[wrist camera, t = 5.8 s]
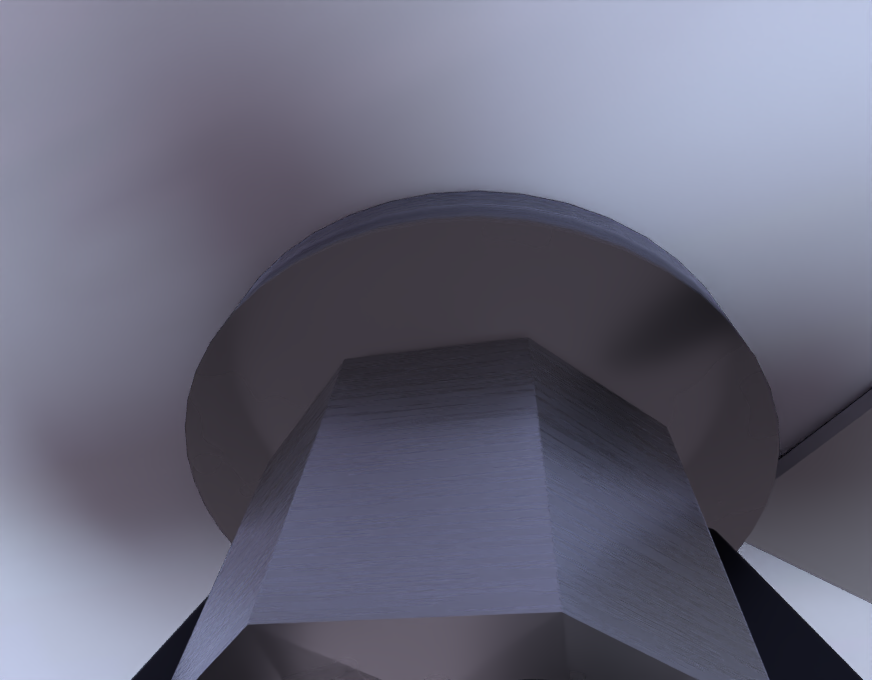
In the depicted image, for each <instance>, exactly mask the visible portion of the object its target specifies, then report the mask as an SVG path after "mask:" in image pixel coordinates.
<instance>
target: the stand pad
mask: <svg viewBox="0 0 872 680" xmlns="http://www.w3.org/2000/svg"><path fill="white" fill-rule="evenodd" d="M744 542H746V543H748V544H750V545H752V546H754V547H756V548H758V549H760V550H762V551H765V552H767V553H769V554H771V555H773V556H775V557H777V558H779V559H781V560H783V561H785V562H787V563H789V564H791V565H793V566H795V567H797V568H799V569H802V570H804V571H806V572H808V573H810V574H812V575H814V576H816V577H818V578H820V579H822V580H824V581H826V582H828V583H830V584H832V585H834V586H836V587H839V588H841V589H843V590H845V591H847V592H849V593H851V594H853V595H855V596H857V597H859V598H861V599H863V600H865V601H867V602H869V603H871V604H872V389H871V390H870V391H868V392H867V393H866V394H865V395H863V396H862V397H861V398H859V399H858V400H857V401H855V402H854V403H853V404H851V405H850V406H849V407H848V408H846V409H845V410H844V411H842V412H841V413H840V414H838V415H837V416H836V417H834V418H833V419H832V420H831V421H829V422H828V423H827V424H825V425H824V426H823V427H821V428H820V429H819V430H817V431H816V432H815V433H814V434H812V435H811V436H810V437H808V438H807V439H806V440H804V441H803V442H802V443H800V444H799V445H798V446H797V447H795V448H794V449H793V450H791V451H790V452H789V453H787V454H786V455H785V456H783V457H782V458H781V459H780V460H778V464H777V470H776V477H775V481H774V484H773V487H772V490H771V493H770V496H769V499H768V502H767V504H766V507H765V509H764V511H763V513H762V514H761V516H760V518H759V520H758V522H757V523H756V525H755V527H754V529H753V531H752V532H751V534H750V535H749V536H748V538H747V539H746V540H745V541H744Z"/></svg>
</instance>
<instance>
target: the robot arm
mask: <svg viewBox="0 0 872 680" xmlns="http://www.w3.org/2000/svg"><path fill="white" fill-rule="evenodd" d="M708 530H709V532H710V535H711V537H712V539H713V542H714V544H715V547H716V549H717V552H718V554H719V557H720V559H721V562H722V564H723V567H724V569H725V571H726V574H727V576H728V579H729V581H730V584H731V586H732V589H733V591H734V594H735V596H736V599H737V601H738V603H739V606H740V608H741V611H742V613H743V616H744V618H745V621H746V623H747V626H748V628H749V631H750V633H751V635H752V638H753V640H754V643H755V645H756V648H757V650H758V653H759V655H760V658H761V660H762V663H763V665H764V668H765V670H766V672H767V675H768V677H769V680H863V679H862V678H861V677H860V676H859V675H858V674H857V673H856V672H855V671H854V670H853V669H852V668H851V667H850V666H849V665H848V664H847V663H846V662H845V661H844V660H843V659H842V658H841V657H840V656H839V655H838V654H837V653H836V652H835V651H834V650H833V649H832V648H831V647H830V646H829V645H828V644H827V643H826V642H825V641H824V639H823V638H822V637H821V636H820V635H819V634H818V633H817V632H816V631H815V630H814V629H813V628H812V627H811V626H810V625H809V624H808V623H807V622H806V621H805V620H804V619H803V618H802V617H801V616H800V615H799V614H798V613H797V612H796V611H795V610H794V609H793V608H792V607H791V606H790V605H789V604H788V603H787V602H786V601H785V600H784V599H783V598H782V597H781V596H780V595H779V594H778V593H777V592H776V591H775V590H774V589H773V588H772V587H771V586H770V585H769V584H768V583H767V582H766V581H765V580H764V579H763V578H762V577H761V576H760V575H759V574H758V573H757V572H756V570H755V569H754V568H753V567H752V566H751V565H750V564H749V563H748V562H747V561H746V560H745V559H744V558H743V557H742V556H741V555H740V554H739V553H738V552H737V551H736V550H735V549H734V548H733V547H732V546H731V545H730V544H729V543H728V542H727V541H726V540H725V539H724V538H723V537H722V536H721V535H720V534H719V533H718V532H717V531H716V530H714V529H712V528H708ZM208 596H209V595H208ZM208 596H207V597H206V599H205V600H204V601H203V602H202V603H201V604H200V605H199V606H198V607H197V608H196V609H195V611H194V612H193V613H192V614H191V615H190V616H189V617H188V618H187V619H186V620H185V621H184V623H183V624H182V625H181V626H180V627H179V628H178V629H177V630H176V631H175V632H174V633H173V635H172V636H171V637H170V638H169V639H168V640H167V641H166V642H165V643H164V644H163V645H162V647H161V648H160V649H159V650H158V651H157V652H156V653H155V654H154V655H153V656H152V657H151V659H150V660H149V661H148V662H147V663H146V664H145V665H144V666H143V667H142V668H141V669H140V671H139V672H138V673H137V674H136V675H135V676H134V677H133V678H132V679H131V680H172V677H173V675H174V673H175V671H176V668H177V666H178V664H179V662H180V659H181V657H182V655H183V653H184V650H185V648H186V646H187V644H188V641H189V639H190V637H191V635H192V632H193V630H194V628H195V626H196V623H197V621H198V619H199V617H200V614H201V612H202V610H203V608H204V605H205V603H206V601H207V599H208Z"/></svg>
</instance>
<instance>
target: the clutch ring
mask: <svg viewBox="0 0 872 680" xmlns="http://www.w3.org/2000/svg"><path fill="white" fill-rule="evenodd" d="M172 680H769V677H768V675H767V672H766V670H765V668H764V665H763V663H762V660H761V658H760V655H759V653H758V650H757V648H756V645H755V643H754V640H753V638H752V635H751V633H750V631H749V628H748V626H747V623H746V621H745V618H744V616H743V613H742V611H741V608H740V606H739V603H738V601H737V599H736V596H735V594H734V591H733V589H732V586H731V584H730V581H729V579H728V576H727V574H726V571H725V569H724V567H723V564H722V562H721V559H720V557H719V554H718V552H717V549H716V547H715V544H714V542H713V539H712V537H711V535H710V532H709V530H708V527H707V525H706V522H705V520H704V517H703V515H702V512H701V510H700V507H699V505H698V503H697V500H696V498H695V495H694V493H693V490H692V488H691V485H690V483H689V480H688V478H687V475H686V473H685V471H684V468H683V466H682V463H681V461H680V458H679V456H678V453H677V451H676V448H675V446H674V443H673V441H672V438H671V436H670V434H669V431H668V429H667V427H666V426H664V425H663V424H661V423H660V422H658V421H657V420H655V419H654V418H652V417H651V416H649V415H647V414H646V413H644V412H643V411H641V410H640V409H638V408H637V407H635V406H634V405H632V404H630V403H629V402H627V401H626V400H624V399H623V398H621V397H620V396H618V395H617V394H615V393H613V392H612V391H610V390H609V389H607V388H606V387H604V386H603V385H601V384H600V383H598V382H596V381H595V380H593V379H592V378H590V377H589V376H587V375H586V374H584V373H583V372H581V371H579V370H578V369H576V368H575V367H573V366H572V365H570V364H569V363H567V362H566V361H564V360H562V359H561V358H559V357H558V356H556V355H555V354H553V353H552V352H550V351H549V350H547V349H546V348H544V347H542V346H541V345H539V344H538V343H536V342H535V341H533V340H532V339H530V338H529V337H526V338H518V339H509V340H501V341H492V342H484V343H475V344H467V345H458V346H450V347H441V348H433V349H425V350H416V351H408V352H399V353H391V354H382V355H374V356H365V357H357V358H348V359H344V360H343V362H342V363H341V365H340V366H339V367H338V369H337V370H336V371H335V373H334V374H333V375H332V377H331V378H330V379H329V381H328V382H327V384H326V385H325V386H324V388H323V389H322V390H321V392H320V393H319V394H318V396H317V397H316V398H315V400H314V401H313V403H312V404H311V405H310V407H309V408H308V409H307V411H306V412H305V413H304V415H303V416H302V417H301V419H300V420H299V422H298V423H297V424H296V426H295V427H294V428H293V430H292V431H291V432H290V434H289V435H288V437H287V438H286V439H285V441H284V442H283V443H282V445H281V446H280V447H279V449H278V450H277V451H276V453H275V454H274V456H273V457H272V458H271V460H270V461H269V462H268V464H267V466H266V468H265V471H264V473H263V475H262V477H261V480H260V482H259V484H258V486H257V489H256V491H255V493H254V495H253V498H252V500H251V502H250V504H249V507H248V509H247V511H246V513H245V516H244V518H243V520H242V522H241V525H240V527H239V529H238V531H237V534H236V536H235V538H234V540H233V543H232V545H231V547H230V549H229V552H228V554H227V556H226V558H225V561H224V563H223V565H222V567H221V570H220V572H219V574H218V576H217V579H216V581H215V583H214V585H213V587H212V590H211V592H210V594H209V596H208V599H207V601H206V603H205V605H204V608H203V610H202V612H201V614H200V617H199V619H198V621H197V623H196V626H195V628H194V630H193V632H192V635H191V637H190V639H189V641H188V644H187V646H186V648H185V650H184V653H183V655H182V657H181V659H180V662H179V664H178V666H177V668H176V671H175V673H174V675H173V677H172Z"/></svg>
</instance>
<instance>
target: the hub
mask: <svg viewBox="0 0 872 680" xmlns="http://www.w3.org/2000/svg"><path fill="white" fill-rule="evenodd" d="M526 337H529V338H530V339H532V340H533V341H535V342H536V343H538V344H539V345H541V346H542V347H544V348H546V349H547V350H549V351H550V352H552V353H553V354H555V355H556V356H558V357H559V358H561V359H562V360H564V361H566V362H567V363H569V364H570V365H572V366H573V367H575V368H576V369H578V370H579V371H581V372H583V373H584V374H586V375H587V376H589V377H590V378H592V379H593V380H595V381H596V382H598V383H600V384H601V385H603V386H604V387H606V388H607V389H609V390H610V391H612V392H613V393H615V394H617V395H618V396H620V397H621V398H623V399H624V400H626V401H627V402H629V403H630V404H632V405H634V406H635V407H637V408H638V409H640V410H641V411H643V412H644V413H646V414H647V415H649V416H651V417H652V418H654V419H655V420H657V421H658V422H660V423H661V424H663V425H664V426H666V427H667V429H668V431H669V434H670V436H671V438H672V441H673V443H674V446H675V448H676V451H677V453H678V456H679V458H680V461H681V463H682V466H683V468H684V471H685V473H686V475H687V478H688V480H689V483H690V485H691V488H692V490H693V493H694V495H695V498H696V500H697V503H698V505H699V507H700V510H701V512H702V515H703V517H704V520H705V522H706V525H707V527H708V528H712V529H714V530H716V531H717V532H718V533H719V534H720V535H721V536H722V537H723V538H724V539H725V540H726V541H727V542H728V543H729V544H730V545H731V546H732V547H733V548H734V549H735V550H736V551H738V549H739V548H740V547H741V545H742V544H743V543H744V541H745V540H746V539H747V538H748V536H749V535H750V534H751V532H752V531H753V529H754V527H755V525H756V523H757V522H758V520H759V518H760V516H761V514H762V513H763V511H764V509H765V507H766V504H767V502H768V499H769V496H770V493H771V490H772V487H773V484H774V481H775V477H776V470H777V464H778V457H779V429H778V417H777V414H776V410H775V406H774V402H773V398H772V394H771V390H770V387H769V385H768V383H767V381H766V378H765V376H764V374H763V372H762V370H761V368H760V366H759V364H758V362H757V359H756V357H755V356H754V354H753V353H752V352H751V350H750V349H749V347H748V346H747V345H746V343H745V342H744V340H743V339H742V338H741V336H740V335H739V333H738V332H737V331H736V329H735V328H734V326H733V325H732V324H731V322H730V321H729V319H728V318H727V316H726V315H725V314H724V312H723V311H722V310H721V308H720V307H719V305H718V304H717V303H716V301H715V300H714V298H713V297H712V296H711V294H710V293H709V292H708V290H707V289H706V287H705V286H704V285H703V284H702V283H701V282H700V281H699V280H698V279H697V278H696V277H695V276H694V275H693V274H692V273H691V272H690V271H689V270H688V269H687V268H686V267H685V266H684V265H683V264H682V263H681V262H680V261H679V260H677V259H676V258H675V257H673V256H672V255H670V254H669V253H668V252H666V251H665V250H663V249H662V248H661V247H659V246H658V245H656V244H655V243H654V242H652V241H651V240H649V239H648V238H647V237H645V236H643V235H641V234H639V233H637V232H635V231H633V230H631V229H629V228H627V227H625V226H623V225H622V224H620V223H618V222H616V221H614V220H612V219H610V218H608V217H605V216H602V215H599V214H596V213H593V212H590V211H587V210H585V209H582V208H579V207H576V206H573V205H570V204H567V203H563V202H558V201H553V200H548V199H543V198H538V197H533V196H529V195H524V194H510V193H497V192H483V191H472V192H454V193H436V194H429V195H424V196H418V197H413V198H408V199H402V200H397V201H392V202H388V203H385V204H382V205H379V206H376V207H373V208H370V209H367V210H364V211H361V212H358V213H355V214H352V215H349V216H347V217H345V218H343V219H341V220H339V221H337V222H335V223H333V224H331V225H329V226H327V227H325V228H323V229H321V230H319V231H317V232H315V233H313V234H312V235H310V236H309V237H308V238H306V239H305V240H303V241H302V242H300V243H299V244H297V245H296V246H294V247H293V248H292V249H290V250H289V251H287V252H286V253H284V254H283V255H282V256H281V257H280V258H279V259H278V260H277V261H276V262H275V263H274V264H273V265H272V266H271V267H270V268H268V269H267V270H266V271H265V272H264V273H263V274H262V275H261V276H260V277H259V278H258V279H257V281H256V282H255V283H254V285H253V286H252V287H251V289H250V290H249V291H248V293H247V294H246V295H245V297H244V298H243V299H242V301H241V302H240V303H239V305H238V306H237V307H236V309H235V310H234V311H233V313H232V314H231V315H230V317H229V318H228V319H227V321H226V322H225V323H224V325H223V326H222V327H221V329H220V330H219V331H218V333H217V334H216V335H215V337H214V338H213V339H212V341H211V342H210V344H209V346H208V348H207V350H206V352H205V354H204V356H203V358H202V360H201V362H200V364H199V366H198V368H197V370H196V373H195V376H194V379H193V383H192V386H191V390H190V393H189V397H188V402H187V412H186V422H185V433H186V445H187V455H188V459H189V463H190V467H191V471H192V474H193V478H194V482H195V484H196V486H197V488H198V491H199V493H200V495H201V497H202V500H203V502H204V504H205V506H206V508H207V509H208V511H209V513H210V514H211V516H212V517H213V519H214V521H215V522H216V524H217V526H218V527H219V529H220V530H221V531H222V532H223V533H224V535H225V536H226V537H227V538H228V540H229V541H230V542H231V543H233V540H234V538H235V536H236V534H237V531H238V529H239V527H240V525H241V522H242V520H243V518H244V516H245V513H246V511H247V509H248V507H249V504H250V502H251V500H252V498H253V495H254V493H255V491H256V489H257V486H258V484H259V482H260V480H261V477H262V475H263V473H264V471H265V468H266V466H267V464H268V462H269V461H270V460H271V458H272V457H273V456H274V454H275V453H276V451H277V450H278V449H279V447H280V446H281V445H282V443H283V442H284V441H285V439H286V438H287V437H288V435H289V434H290V432H291V431H292V430H293V428H294V427H295V426H296V424H297V423H298V422H299V420H300V419H301V417H302V416H303V415H304V413H305V412H306V411H307V409H308V408H309V407H310V405H311V404H312V403H313V401H314V400H315V398H316V397H317V396H318V394H319V393H320V392H321V390H322V389H323V388H324V386H325V385H326V384H327V382H328V381H329V379H330V378H331V377H332V375H333V374H334V373H335V371H336V370H337V369H338V367H339V366H340V365H341V363H342V362H343V360H344V359H348V358H357V357H365V356H374V355H382V354H391V353H399V352H408V351H416V350H425V349H433V348H441V347H450V346H458V345H467V344H475V343H484V342H492V341H501V340H509V339H518V338H526Z"/></svg>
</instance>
